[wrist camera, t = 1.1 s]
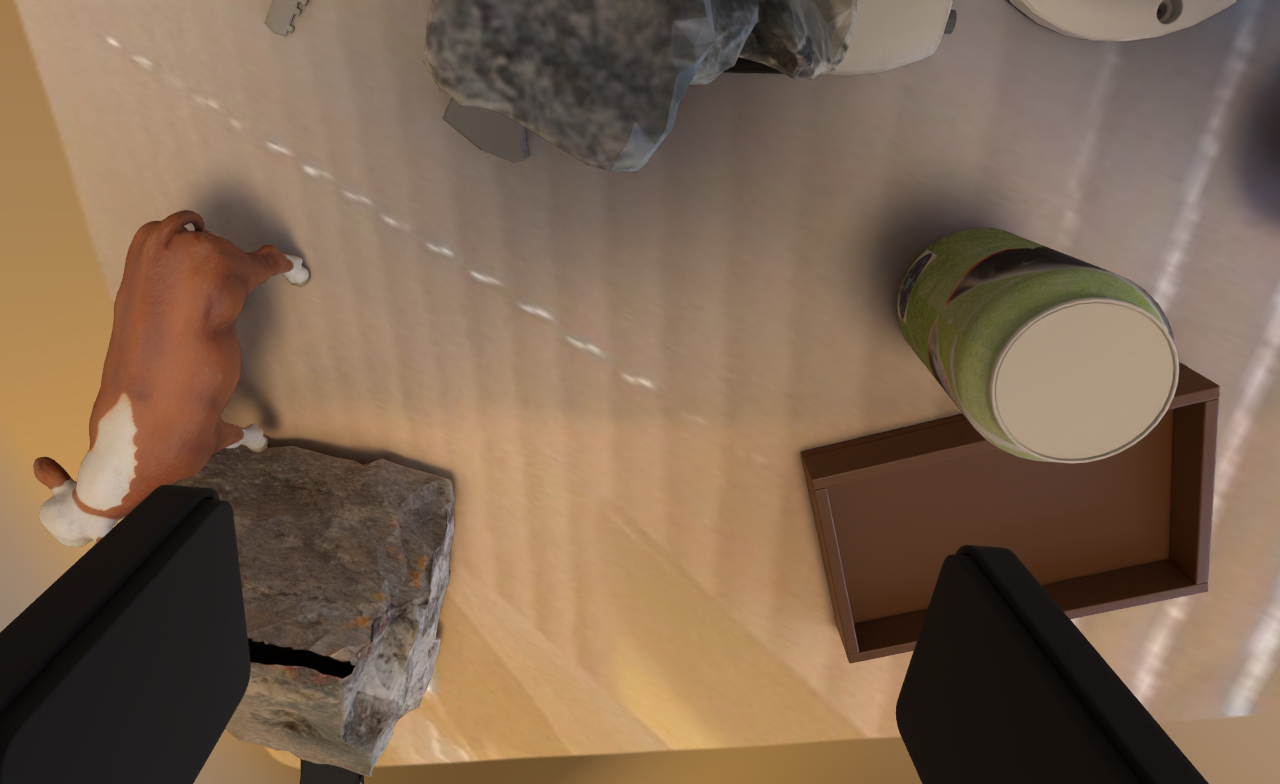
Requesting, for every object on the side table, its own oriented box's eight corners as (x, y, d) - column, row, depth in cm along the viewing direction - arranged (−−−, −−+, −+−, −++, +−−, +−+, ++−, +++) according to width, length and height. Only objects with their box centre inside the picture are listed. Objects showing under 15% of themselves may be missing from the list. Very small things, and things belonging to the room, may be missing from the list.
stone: (186, 423, 38) (167, 719, 38) (38, 442, 22) (2, 958, 22) (449, 432, 42) (434, 699, 42) (486, 454, 26) (463, 887, 26)
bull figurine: (157, 483, 34) (-15, 553, 26) (246, 203, 31) (86, 185, 23) (244, 524, 34) (99, 606, 26) (341, 247, 31) (213, 244, 23)
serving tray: (800, 451, 35) (811, 480, 33) (1181, 362, 33) (1221, 385, 31) (837, 628, 40) (849, 664, 37) (1174, 559, 38) (1208, 591, 36)
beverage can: (974, 379, 34) (1134, 539, 23) (836, 309, 32) (937, 444, 21) (1067, 257, 31) (1295, 370, 20) (923, 175, 30) (1086, 250, 19)
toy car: (295, 818, 43) (308, 785, 45) (356, 824, 43) (367, 792, 45) (295, 716, 40) (310, 685, 41) (362, 723, 40) (374, 692, 42)
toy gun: (441, 162, 27) (414, -172, 23) (456, 155, 29) (434, -151, 25) (944, 174, 27) (1003, -156, 23) (920, 165, 30) (971, -137, 26)
